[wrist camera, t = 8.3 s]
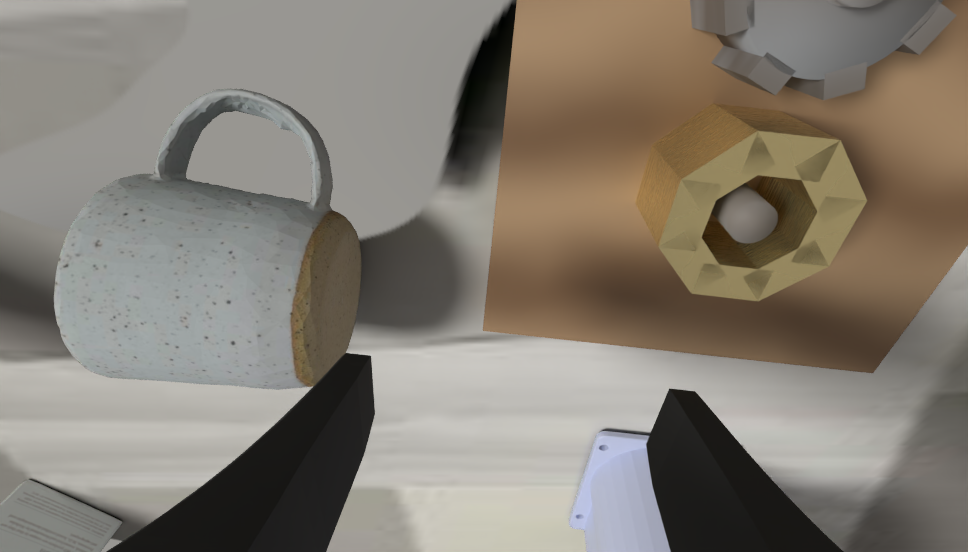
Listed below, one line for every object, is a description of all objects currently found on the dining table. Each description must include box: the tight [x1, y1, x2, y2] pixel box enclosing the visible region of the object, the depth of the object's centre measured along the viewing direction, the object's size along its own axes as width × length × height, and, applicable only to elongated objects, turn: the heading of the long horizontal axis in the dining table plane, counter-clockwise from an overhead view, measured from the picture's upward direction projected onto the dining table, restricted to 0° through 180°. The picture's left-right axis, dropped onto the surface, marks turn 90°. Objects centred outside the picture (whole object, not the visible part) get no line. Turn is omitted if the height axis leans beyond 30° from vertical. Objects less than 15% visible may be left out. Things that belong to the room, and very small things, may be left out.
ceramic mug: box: [54, 89, 361, 390], centre depth 17 cm, size 11×8×8 cm
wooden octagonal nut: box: [635, 103, 867, 301], centre depth 15 cm, size 5×5×4 cm
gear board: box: [483, 0, 968, 373], centre depth 15 cm, size 18×18×5 cm
